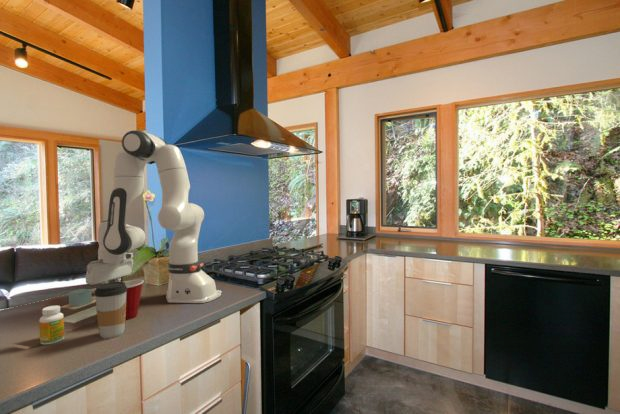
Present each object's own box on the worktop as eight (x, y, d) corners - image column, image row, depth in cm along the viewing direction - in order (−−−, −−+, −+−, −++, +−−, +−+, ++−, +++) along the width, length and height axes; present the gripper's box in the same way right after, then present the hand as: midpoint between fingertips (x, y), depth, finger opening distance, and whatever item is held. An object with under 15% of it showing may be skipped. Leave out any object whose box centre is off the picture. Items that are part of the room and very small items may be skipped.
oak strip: (122, 294, 132) (121, 283, 131) (75, 310, 112) (75, 298, 112) (107, 292, 134) (107, 282, 134) (59, 308, 114) (58, 296, 114)
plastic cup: (122, 310, 112) (121, 278, 112) (150, 311, 112) (150, 278, 112) (100, 323, 101) (99, 287, 101) (132, 323, 101) (131, 287, 101)
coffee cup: (123, 338, 90) (122, 287, 90) (90, 342, 88) (89, 290, 88) (131, 326, 98) (130, 280, 98) (101, 330, 96) (100, 282, 96)
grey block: (126, 304, 119) (125, 292, 119) (74, 324, 100) (73, 310, 100) (109, 302, 121) (109, 290, 121) (56, 322, 102) (55, 308, 102)
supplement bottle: (50, 346, 86) (49, 311, 86) (35, 344, 87) (33, 310, 87) (69, 337, 91) (68, 305, 91) (54, 335, 92) (53, 303, 92)
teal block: (91, 302, 120) (91, 289, 120) (79, 306, 115) (78, 293, 115) (81, 301, 121) (81, 288, 121) (69, 305, 116) (68, 292, 116)
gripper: (93, 262, 120) (94, 297, 120) (136, 253, 140) (136, 283, 140) (81, 261, 122) (82, 296, 122) (124, 252, 141) (125, 282, 142)
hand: (111, 289), depth 131 cm, fingers closed on oak strip, 2 cm apart
